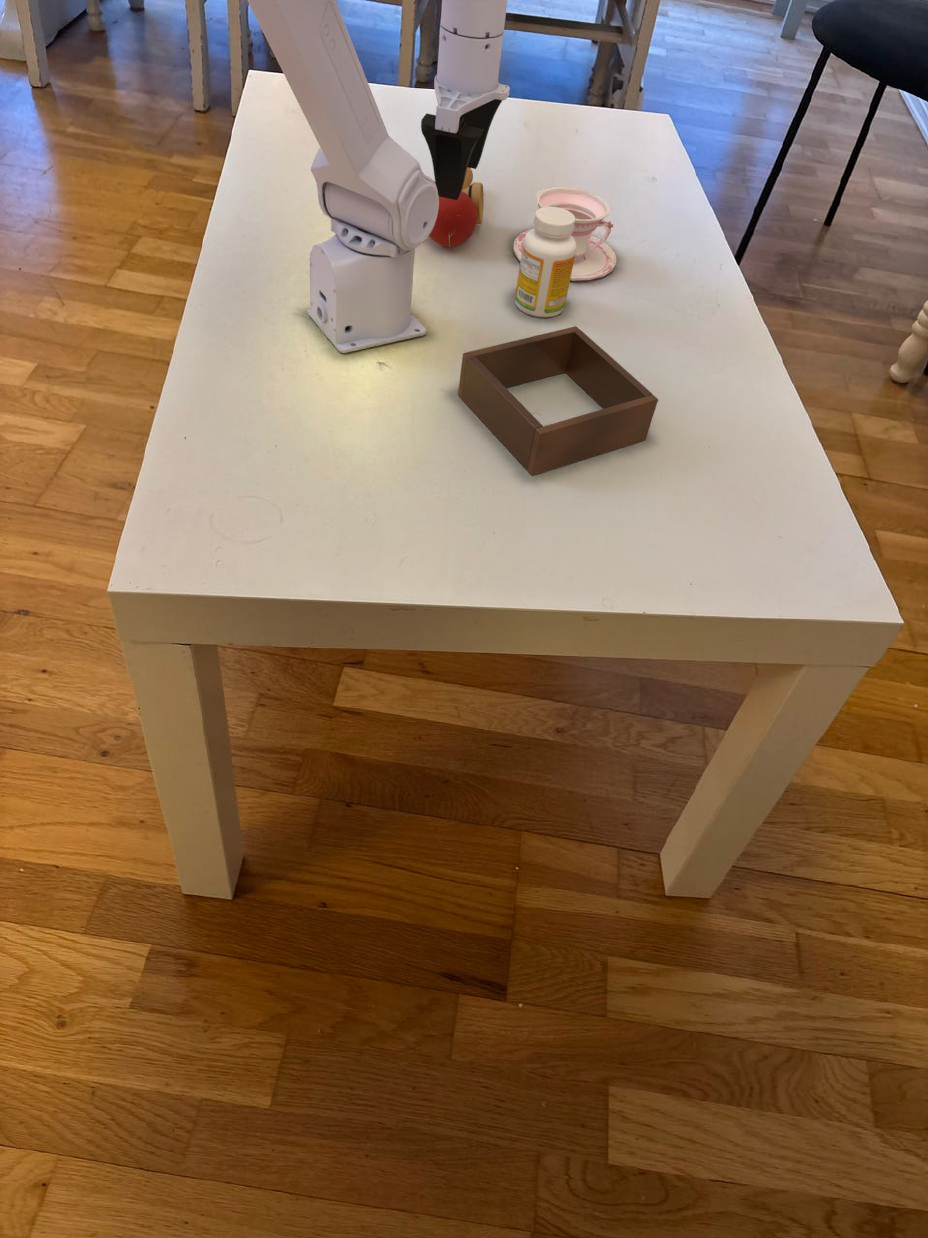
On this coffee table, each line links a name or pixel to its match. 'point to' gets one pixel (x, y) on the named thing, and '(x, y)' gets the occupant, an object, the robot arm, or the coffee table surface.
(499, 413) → the square frame
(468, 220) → the kendama
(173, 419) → the coffee table surface
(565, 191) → the teacup
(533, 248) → the supplement bottle
